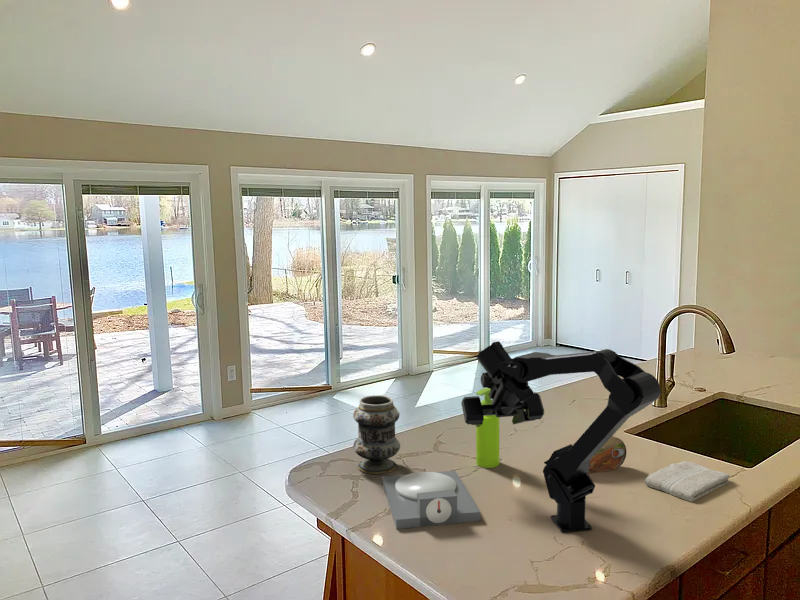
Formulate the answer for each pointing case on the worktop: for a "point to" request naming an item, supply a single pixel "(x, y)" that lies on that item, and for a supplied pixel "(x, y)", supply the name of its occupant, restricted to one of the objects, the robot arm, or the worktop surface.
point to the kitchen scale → (429, 499)
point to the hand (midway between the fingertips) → (495, 423)
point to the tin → (608, 456)
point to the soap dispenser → (487, 436)
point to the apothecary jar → (376, 434)
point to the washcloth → (687, 480)
